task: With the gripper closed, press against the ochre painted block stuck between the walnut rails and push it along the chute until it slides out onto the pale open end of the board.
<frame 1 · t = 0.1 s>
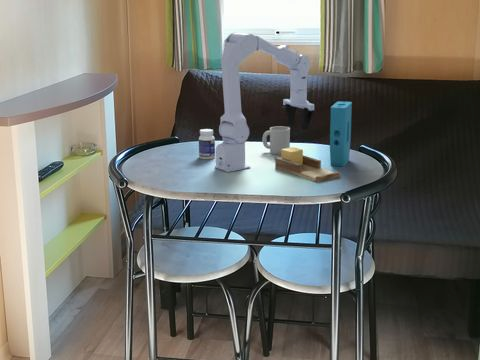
hand: (298, 127, 238), 10 cm above the table, fingers open, 7 cm apart
cup: (275, 152, 246), on the table
chute: (305, 172, 220), on the table
pill bottle: (207, 158, 240), on the table
block 2: (339, 163, 231), on the table
block: (292, 156, 224), point 4 cm above the table, slide at 0.0 cm
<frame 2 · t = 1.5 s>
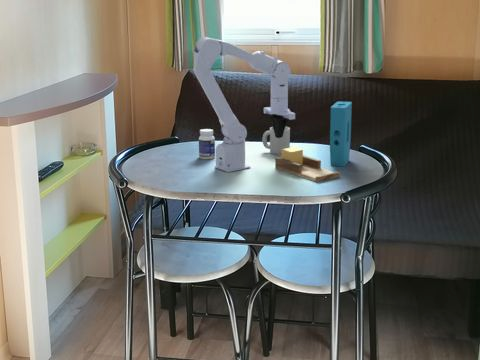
hand: (279, 137, 228), 9 cm above the table, fingers closed
nothing on the table moved.
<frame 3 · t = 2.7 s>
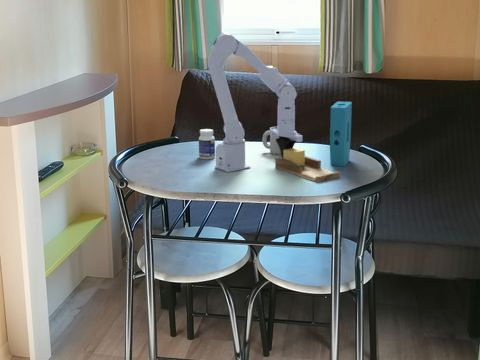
hand: (285, 159, 227), 2 cm above the table, fingers closed
block: (293, 157, 223), point 4 cm above the table, slide at 1.0 cm, touching gripper
everything else where it was.
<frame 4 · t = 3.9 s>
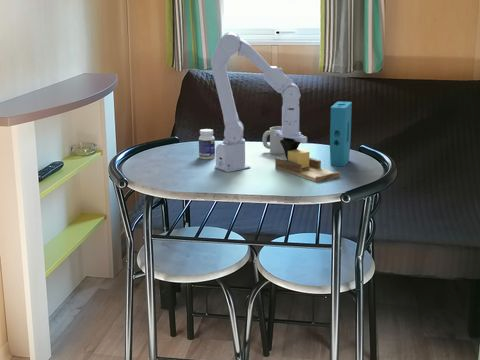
hand: (290, 160, 225), 2 cm above the table, fingers closed
block: (298, 158, 221), point 4 cm above the table, slide at 3.3 cm, touching gripper
everything else where it was.
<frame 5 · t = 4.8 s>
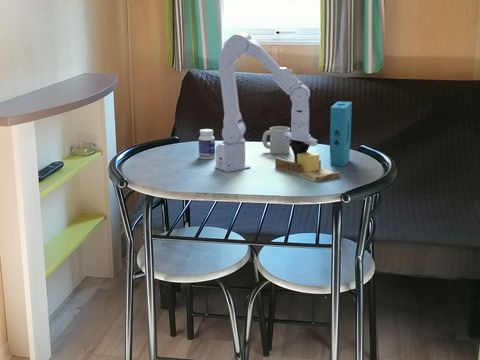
hand: (299, 163, 221), 2 cm above the table, fingers closed
block: (308, 161, 218), point 4 cm above the table, slide at 8.2 cm, touching gripper
everything else where it was.
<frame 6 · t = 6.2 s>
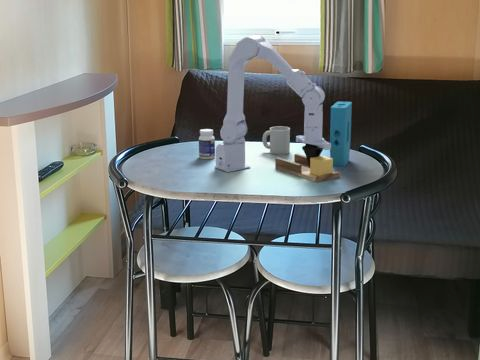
hand: (312, 167, 216), 2 cm above the table, fingers closed
block: (321, 165, 213), point 4 cm above the table, slide at 14.5 cm, touching gripper
everything else where it was.
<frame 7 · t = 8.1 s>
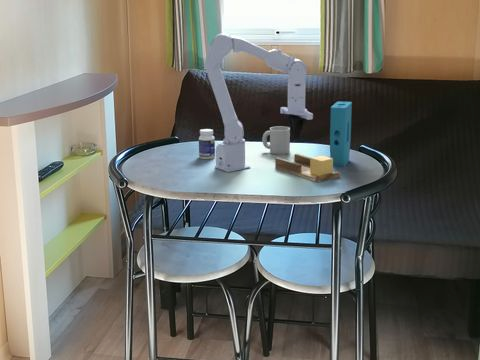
hand: (295, 137, 224), 10 cm above the table, fingers closed
block: (321, 165, 213), point 4 cm above the table, slide at 14.5 cm
everything else where it was.
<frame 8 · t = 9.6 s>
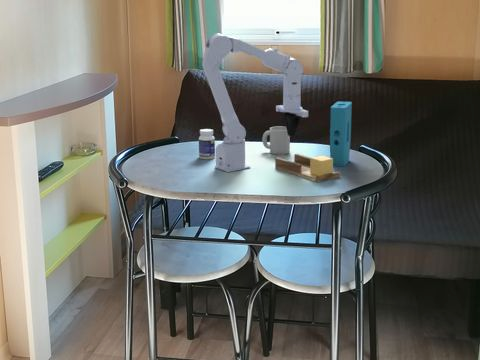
hand: (291, 135, 227), 10 cm above the table, fingers closed
nothing on the table moved.
at the end: block slide at 14.5 cm; the gripper is holding nothing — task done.
